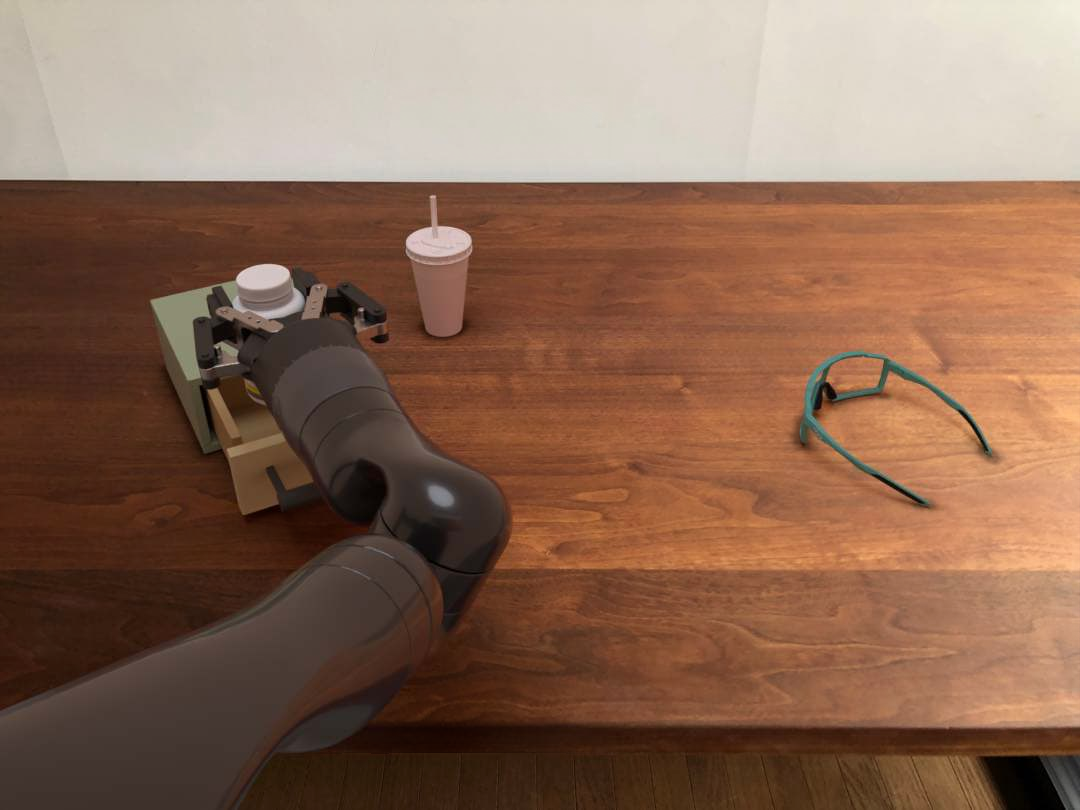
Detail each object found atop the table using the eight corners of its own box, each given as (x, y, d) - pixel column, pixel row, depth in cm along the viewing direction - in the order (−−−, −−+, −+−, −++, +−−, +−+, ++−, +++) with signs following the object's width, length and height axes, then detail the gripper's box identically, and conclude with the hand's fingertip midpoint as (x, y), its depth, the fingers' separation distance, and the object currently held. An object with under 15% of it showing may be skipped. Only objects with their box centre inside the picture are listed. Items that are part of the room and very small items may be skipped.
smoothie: (451, 304, 110) (444, 178, 102) (488, 329, 106) (484, 200, 98) (399, 324, 107) (388, 196, 98) (435, 351, 103) (427, 220, 94)
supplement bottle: (322, 403, 82) (304, 288, 76) (249, 415, 81) (225, 299, 75) (314, 365, 87) (296, 253, 81) (245, 376, 85) (222, 264, 80)
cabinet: (345, 413, 94) (336, 341, 90) (204, 454, 89) (187, 380, 85) (295, 336, 105) (285, 268, 100) (166, 369, 100) (149, 299, 95)
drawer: (403, 507, 83) (398, 449, 79) (260, 555, 78) (248, 496, 75) (326, 388, 96) (318, 334, 92) (200, 423, 91) (187, 368, 88)
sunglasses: (855, 372, 100) (869, 330, 96) (997, 458, 92) (1018, 415, 88) (762, 433, 92) (775, 389, 89) (909, 532, 84) (928, 487, 81)
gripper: (230, 476, 68) (173, 352, 81) (434, 414, 74) (352, 307, 86) (208, 380, 64) (152, 264, 76) (427, 322, 70) (342, 223, 82)
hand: (258, 287), depth 81 cm, fingers closed on supplement bottle, 5 cm apart
